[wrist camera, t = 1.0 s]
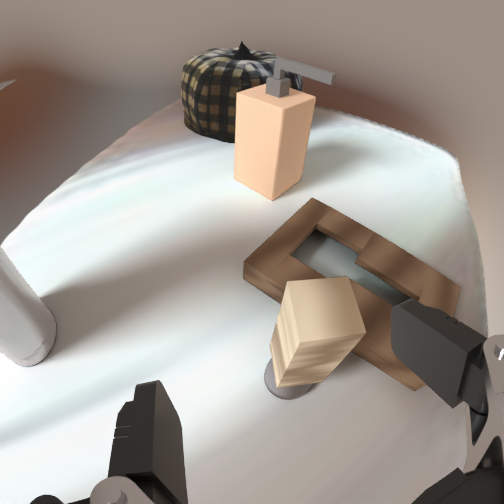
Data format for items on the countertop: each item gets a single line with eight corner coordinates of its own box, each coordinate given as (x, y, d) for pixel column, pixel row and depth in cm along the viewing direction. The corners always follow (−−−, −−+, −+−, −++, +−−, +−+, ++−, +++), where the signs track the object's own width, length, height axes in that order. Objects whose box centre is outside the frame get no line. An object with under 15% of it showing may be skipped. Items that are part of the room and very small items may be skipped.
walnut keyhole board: (243, 278, 39) (243, 261, 36) (308, 214, 47) (312, 197, 45) (414, 391, 29) (430, 382, 27) (448, 300, 38) (460, 287, 35)
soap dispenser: (233, 179, 52) (237, 56, 35) (264, 160, 57) (274, 50, 40) (293, 214, 47) (318, 78, 30) (321, 190, 52) (348, 71, 35)
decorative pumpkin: (318, 117, 73) (330, 46, 57) (256, 160, 57) (264, 61, 41) (228, 90, 82) (230, 29, 67) (154, 123, 66) (147, 46, 51)
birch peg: (267, 402, 29) (294, 349, 17) (261, 357, 32) (280, 276, 20) (315, 395, 29) (373, 337, 18) (307, 352, 33) (351, 271, 21)
